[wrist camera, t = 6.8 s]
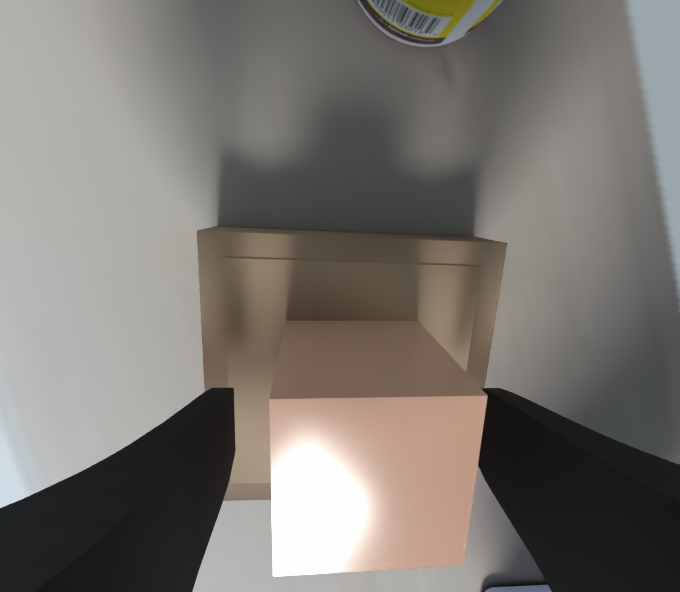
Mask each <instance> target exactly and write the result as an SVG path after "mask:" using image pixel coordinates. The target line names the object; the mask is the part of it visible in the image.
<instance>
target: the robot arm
mask: <svg viewBox="0 0 680 592" xmlns="http://www.w3.org/2000/svg"><path fill="white" fill-rule="evenodd" d="M481 389H482V390H483V391H484V392H485V393H486V394H487V396H488V397H487V404H486V411H485V418H484V425H483V432H482V439H481V446H480V453H479V460H478V466H479V468H480V470H481V472H482V474H483V476H484V478H485V480H486V482H487V484H488V486H489V487H490V489H491V491H492V492H493V494H494V495H495V497H496V499H497V500H498V502H499V504H500V505H501V507H502V509H503V510H504V512H505V513H506V515H507V517H508V518H509V520H510V521H511V523H512V525H513V526H514V528H515V529H516V531H517V533H518V534H519V536H520V538H521V539H522V541H523V542H524V544H525V546H526V547H527V549H528V550H529V552H530V554H531V555H532V557H533V559H534V560H535V562H536V564H537V566H538V567H539V569H540V571H541V573H542V574H543V576H544V578H545V580H546V582H547V584H548V585H531V586H510V587H492V588H489V589H487V590H486V591H485V592H680V465H679V464H676V463H673V462H670V461H667V460H665V459H662V458H659V457H657V456H654V455H651V454H649V453H646V452H643V451H641V450H638V449H635V448H633V447H630V446H628V445H625V444H623V443H621V442H618V441H616V440H614V439H611V438H609V437H607V436H604V435H602V434H600V433H598V432H595V431H593V430H591V429H589V428H586V427H584V426H582V425H580V424H578V423H576V422H573V421H571V420H569V419H567V418H565V417H563V416H561V415H559V414H557V413H555V412H552V411H550V410H548V409H546V408H544V407H542V406H540V405H538V404H536V403H534V402H532V401H530V400H527V399H525V398H523V397H521V396H519V395H516V394H514V393H512V392H509V391H506V390H504V389H501V388H481ZM235 452H236V447H235V411H234V388H210V389H209V390H207V391H206V392H204V393H203V394H201V395H200V396H199V397H197V398H196V399H195V400H193V401H192V402H191V403H189V404H188V405H187V406H185V407H184V408H183V409H181V410H180V411H178V412H177V413H176V414H174V415H173V416H171V417H170V418H169V419H167V420H166V421H165V422H163V423H162V424H160V425H159V426H157V427H156V428H154V429H153V430H151V431H150V432H148V433H146V434H145V435H143V436H142V437H140V438H139V439H137V440H136V441H134V442H133V443H131V444H130V445H128V446H126V447H125V448H123V449H121V450H120V451H118V452H116V453H115V454H113V455H111V456H109V457H107V458H106V459H104V460H102V461H100V462H98V463H96V464H95V465H93V466H91V467H89V468H87V469H85V470H83V471H81V472H79V473H77V474H75V475H73V476H71V477H69V478H67V479H65V480H63V481H60V482H58V483H56V484H54V485H52V486H50V487H48V488H46V489H43V490H41V491H39V492H37V493H35V494H33V495H31V496H29V497H26V498H24V499H22V500H19V501H17V502H15V503H12V504H10V505H7V506H5V507H2V508H0V592H192V590H193V587H194V584H195V581H196V577H197V574H198V571H199V568H200V565H201V562H202V559H203V557H204V554H205V551H206V548H207V545H208V542H209V539H210V537H211V534H212V531H213V528H214V525H215V522H216V519H217V517H218V514H219V511H220V508H221V505H222V502H223V499H224V496H225V493H226V490H227V487H228V484H229V480H230V475H231V471H232V466H233V461H234V456H235Z"/></svg>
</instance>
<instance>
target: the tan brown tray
mask: <svg viewBox="0 0 680 592" xmlns="http://www.w3.org/2000/svg"><path fill="white" fill-rule="evenodd" d="M197 243H198V263H199V283H200V303H201V324H202V344H203V364H204V384H205V392H206V391H207V390H209V389H210V388H234V411H235V447H236V452H235V456H234V461H233V466H232V471H231V475H230V480H229V484H228V487H227V490H226V493H225V496H224V499H223V501H230V500H271V459H270V413H269V398H270V393H271V388H272V384H273V379H274V374H275V369H276V365H277V360H278V355H279V350H280V346H281V341H282V336H283V331H284V327H285V322H286V321H419V322H420V323H421V324H422V326H423V327H424V328H425V329H426V330H427V331H428V332H429V333H430V334H431V335H432V336H433V337H434V338H435V340H436V341H437V342H438V343H439V344H440V345H441V346H442V347H443V348H444V349H445V350H446V351H447V352H448V354H449V355H450V356H451V357H452V358H453V359H454V360H455V361H456V362H457V363H458V364H459V365H460V366H461V368H462V369H463V370H464V371H465V372H466V373H467V374H468V375H469V376H470V377H471V378H472V379H473V380H474V382H475V383H476V384H477V385H478V386H479V387H480V388H484V387H485V380H486V374H487V368H488V361H489V355H490V349H491V342H492V336H493V330H494V323H495V317H496V311H497V304H498V298H499V292H500V285H501V279H502V272H503V266H504V260H505V253H506V247H507V243H504V242H499V241H494V240H488V239H483V238H478V237H469V236H445V235H421V234H397V233H373V232H348V231H324V230H300V229H276V228H252V227H227V226H215V227H211V228H207V229H202V230H198V231H197Z"/></svg>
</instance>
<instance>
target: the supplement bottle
mask: <svg viewBox="0 0 680 592" xmlns="http://www.w3.org/2000/svg"><path fill="white" fill-rule="evenodd" d="M357 1H358V3H359V4H360V6H361V8H362V9H363V11H364V13H365V14H366V15H367V17H368V18H369V19H370V20H371V21H372V22H373V24H374V25H375V26H376V27H378V28H379V29H380V30H381V31H382V32H383V33H385V34H386V35H388V36H389V37H391V38H393V39H395V40H397V41H399V42H402V43H404V44H408V45H412V46H418V47H435V46H440V45H445V44H448V43H451V42H454V41H456V40H458V39H460V38H462V37H464V36H465V35H467V34H469V33H470V32H471V31H473V30H474V29H475V28H477V27H478V26H479V25H480V24H481V23H482V22H483V21H484V20H485V19H486V18H487V17H488V16H489V15H490V14H491V13H492V12H493V11H494V10H495V9H496V8H497V7H498V5H499V4H500V3H501V2H502V1H503V0H357Z"/></svg>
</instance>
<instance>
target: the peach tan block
mask: <svg viewBox="0 0 680 592" xmlns="http://www.w3.org/2000/svg"><path fill="white" fill-rule="evenodd" d="M487 397H488V396H487V394H486V393H485V392H484V391H483V390H482V389H481V388H480V387H479V386H478V385H477V384H476V383H475V382H474V380H473V379H472V378H471V377H470V376H469V375H468V374H467V373H466V372H465V371H464V370H463V369H462V368H461V366H460V365H459V364H458V363H457V362H456V361H455V360H454V359H453V358H452V357H451V356H450V355H449V354H448V352H447V351H446V350H445V349H444V348H443V347H442V346H441V345H440V344H439V343H438V342H437V341H436V340H435V338H434V337H433V336H432V335H431V334H430V333H429V332H428V331H427V330H426V329H425V328H424V327H423V326H422V324H421V323H420V322H419V321H286V322H285V327H284V331H283V336H282V341H281V346H280V350H279V355H278V360H277V365H276V369H275V374H274V379H273V384H272V388H271V393H270V398H269V413H270V459H271V504H272V549H273V576H290V575H307V574H324V573H342V572H359V571H377V570H394V569H411V568H429V567H446V566H464V559H465V552H466V545H467V538H468V531H469V524H470V517H471V510H472V503H473V496H474V489H475V482H476V475H477V468H478V460H479V453H480V446H481V439H482V432H483V425H484V418H485V411H486V404H487Z"/></svg>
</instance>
